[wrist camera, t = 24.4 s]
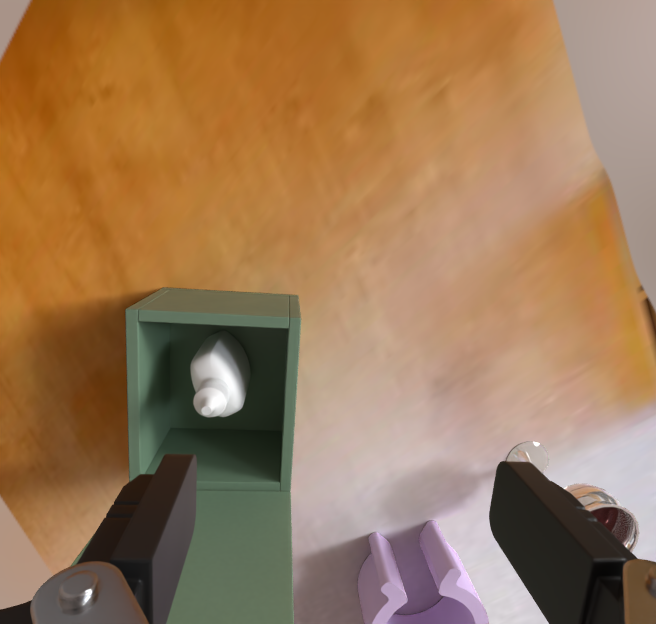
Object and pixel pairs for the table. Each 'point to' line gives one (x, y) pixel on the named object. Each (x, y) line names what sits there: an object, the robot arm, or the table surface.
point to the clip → (389, 594)
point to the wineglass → (587, 497)
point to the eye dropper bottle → (220, 376)
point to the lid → (237, 561)
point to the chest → (178, 391)
